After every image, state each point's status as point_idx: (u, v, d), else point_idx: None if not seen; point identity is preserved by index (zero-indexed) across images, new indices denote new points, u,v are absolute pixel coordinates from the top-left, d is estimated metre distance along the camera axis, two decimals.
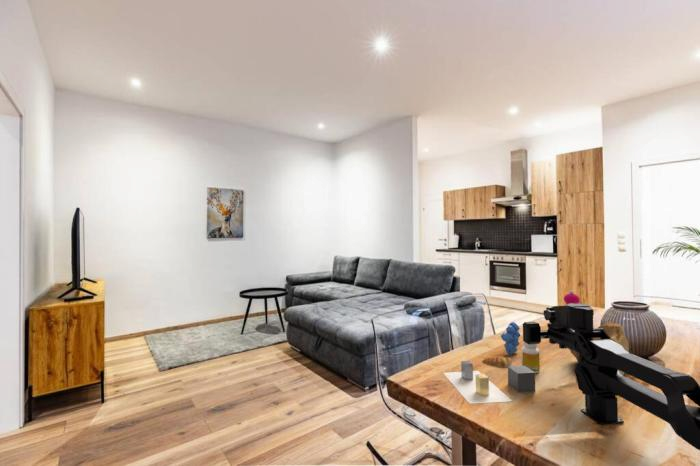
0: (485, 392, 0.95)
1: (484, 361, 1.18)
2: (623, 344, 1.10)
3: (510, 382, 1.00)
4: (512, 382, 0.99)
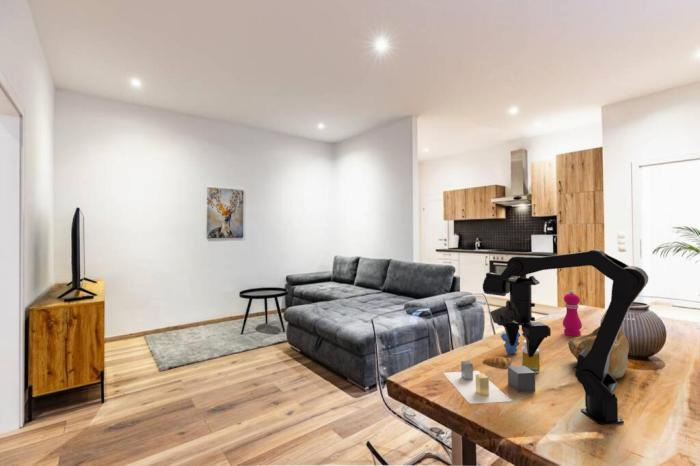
0: (485, 392, 0.95)
1: (484, 361, 1.18)
2: (623, 344, 1.10)
3: (510, 382, 1.00)
4: (512, 382, 0.99)
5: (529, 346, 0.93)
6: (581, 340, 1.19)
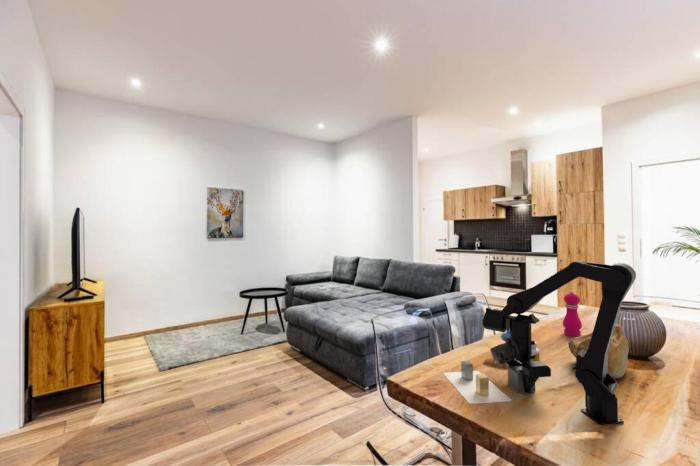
0: (485, 392, 0.95)
1: (485, 362, 1.17)
2: (623, 344, 1.10)
3: (510, 382, 1.00)
4: (512, 382, 0.99)
5: (526, 382, 0.95)
6: (581, 340, 1.19)
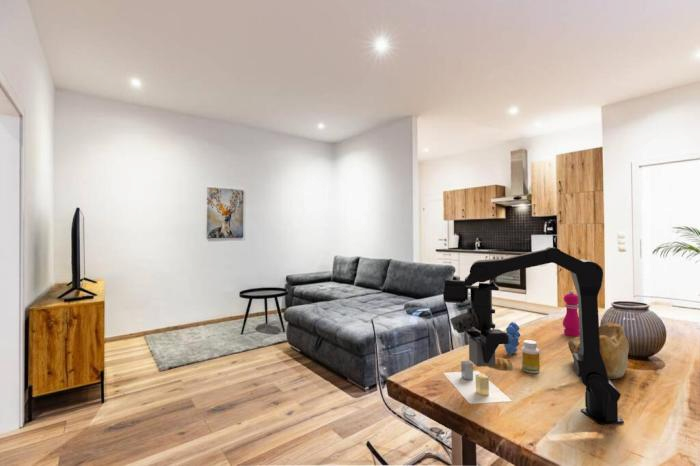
0: (485, 392, 0.95)
1: None
2: (623, 344, 1.10)
3: (471, 353, 0.97)
4: (472, 353, 0.96)
5: (485, 352, 0.92)
6: None
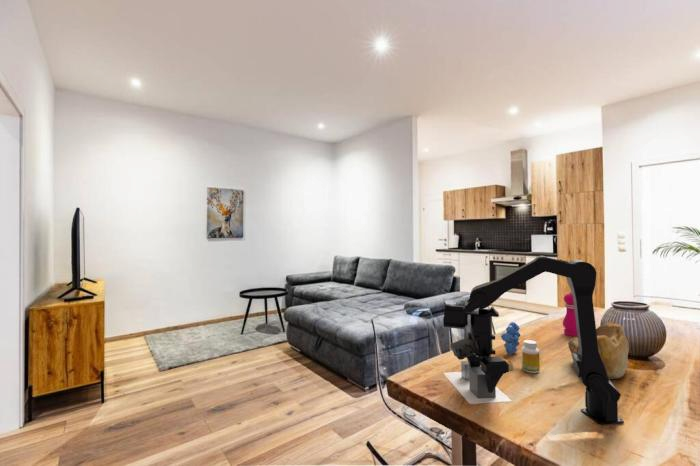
0: None
1: None
2: (623, 344, 1.10)
3: (471, 383, 0.97)
4: (473, 384, 0.96)
5: (488, 382, 0.90)
6: None
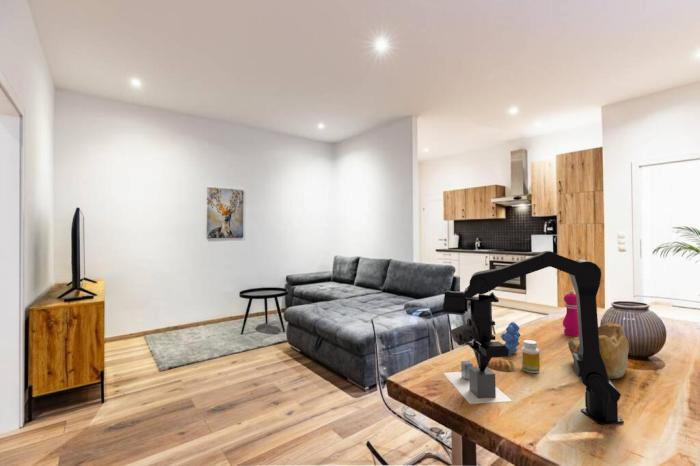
0: None
1: (487, 365, 1.15)
2: (623, 344, 1.10)
3: (471, 383, 0.97)
4: (473, 384, 0.96)
5: (480, 360, 0.95)
6: None
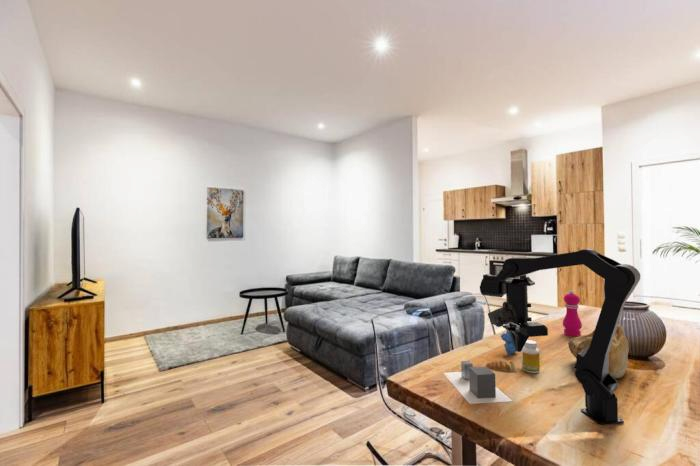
0: None
1: (488, 366, 1.14)
2: (623, 344, 1.10)
3: (471, 383, 0.97)
4: (473, 384, 0.96)
5: (517, 341, 0.99)
6: (581, 340, 1.19)
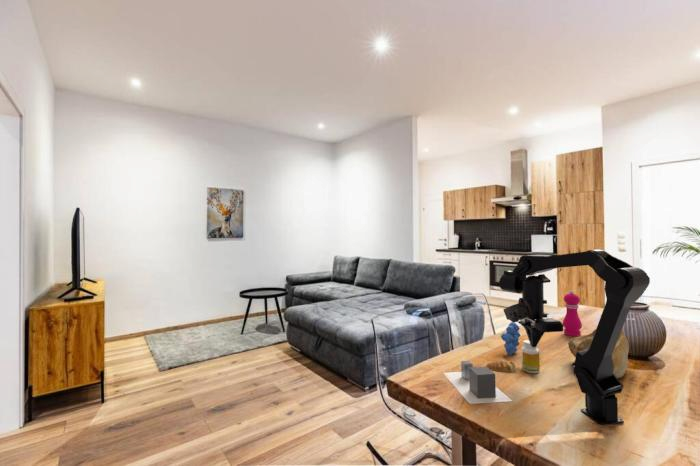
0: None
1: (488, 367, 1.13)
2: (623, 344, 1.10)
3: (471, 383, 0.97)
4: (473, 384, 0.96)
5: (533, 337, 1.01)
6: (581, 340, 1.19)
